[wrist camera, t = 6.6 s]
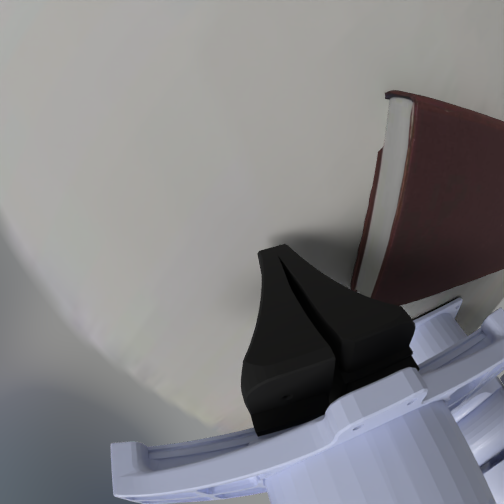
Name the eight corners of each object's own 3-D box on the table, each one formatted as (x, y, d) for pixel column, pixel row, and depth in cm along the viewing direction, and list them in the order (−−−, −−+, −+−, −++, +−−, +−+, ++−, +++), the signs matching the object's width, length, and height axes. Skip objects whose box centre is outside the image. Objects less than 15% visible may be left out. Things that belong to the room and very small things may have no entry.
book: (378, 82, 12) (423, 94, 9) (535, 132, 15) (562, 148, 13) (342, 283, 19) (365, 319, 17) (497, 248, 23) (517, 268, 20)
